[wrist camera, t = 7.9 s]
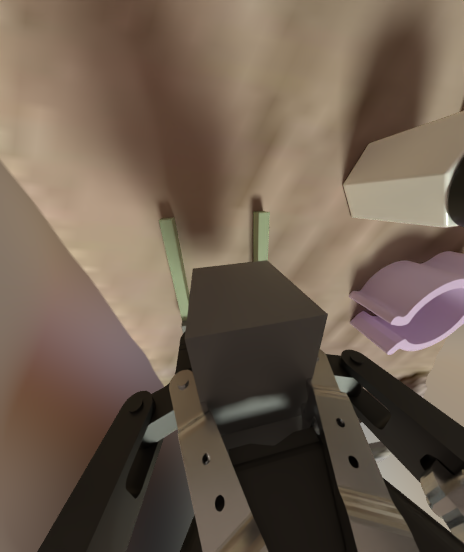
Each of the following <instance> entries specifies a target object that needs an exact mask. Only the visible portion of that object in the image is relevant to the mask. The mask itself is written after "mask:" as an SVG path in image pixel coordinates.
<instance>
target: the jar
mask: <svg viewBox="0 0 464 552" xmlns="http://www.w3.org/2000/svg"><path fill="white" fill-rule="evenodd" d="M343 187H344V190H345V194H346V198H347V201H348V205H349V209H350V212H351V216H352V217H353V218H362V219H371V220H380V221H389V222H398V223H408V224H417V225H426V226H435V227H454V226H461V227H464V111H461V112H458V113H456V114H453V115H450V116H447V117H444V118H441V119H438V120H435V121H432V122H429V123H426V124H424V125H421V126H418V127H415V128H412V129H409V130H406V131H403V132H400V133H397V134H395V135H392V136H389V137H386V138H383V139H380V140H377V141H374V142H371V143H369V144H368V146H367V147H366V149H365V150H364V152H363V154H362V155H361V157H360V158H359V160H358V162H357V163H356V165H355V166H354V168H353V170H352V171H351V173H350V174H349V176H348V178H347V179H346V181H345V182H344V184H343Z"/></svg>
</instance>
